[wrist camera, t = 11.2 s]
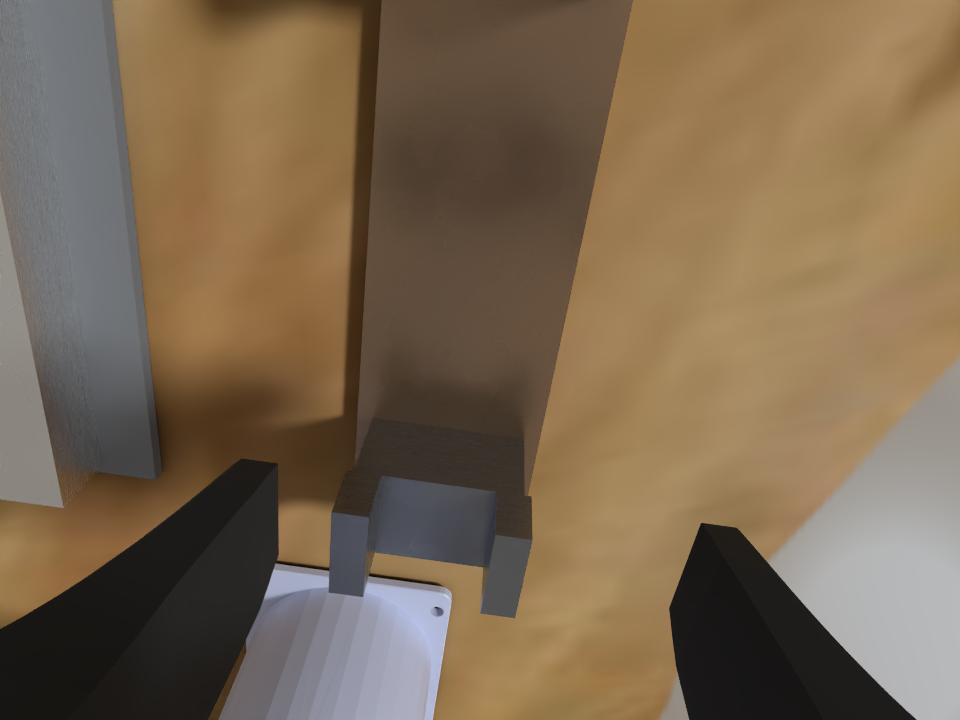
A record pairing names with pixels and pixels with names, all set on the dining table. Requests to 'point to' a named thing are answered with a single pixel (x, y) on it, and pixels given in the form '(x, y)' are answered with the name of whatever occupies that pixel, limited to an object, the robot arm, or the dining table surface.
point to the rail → (37, 294)
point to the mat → (100, 224)
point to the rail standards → (470, 274)
